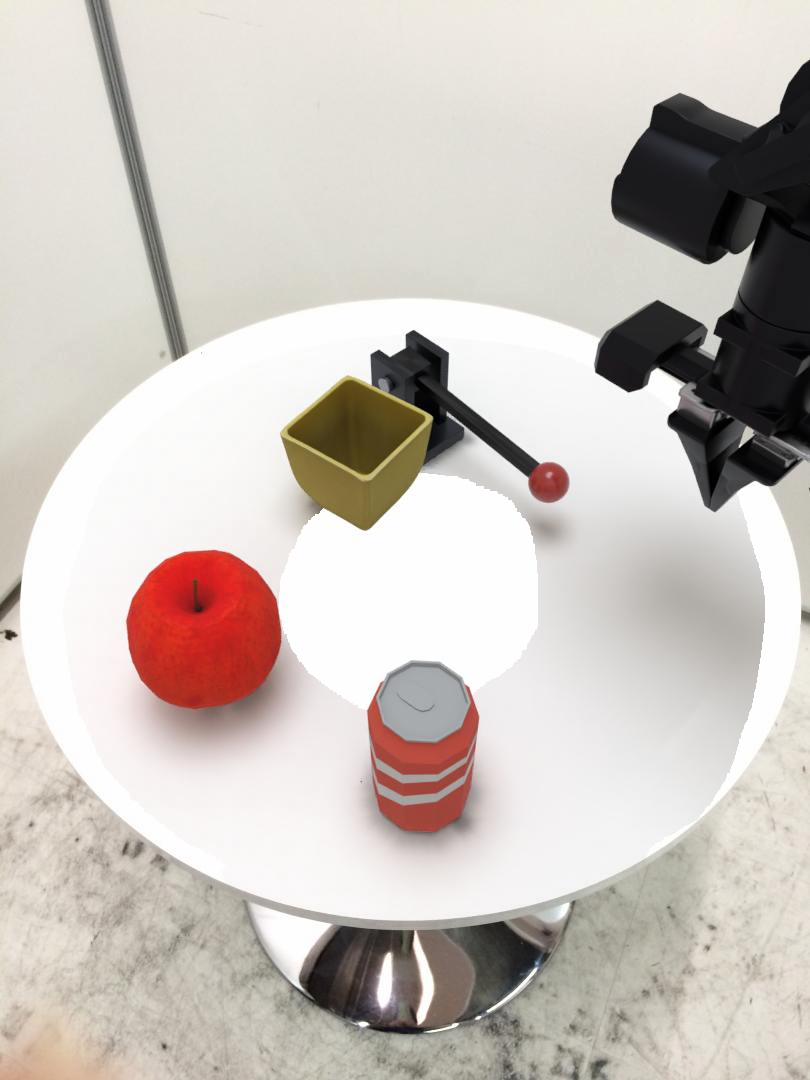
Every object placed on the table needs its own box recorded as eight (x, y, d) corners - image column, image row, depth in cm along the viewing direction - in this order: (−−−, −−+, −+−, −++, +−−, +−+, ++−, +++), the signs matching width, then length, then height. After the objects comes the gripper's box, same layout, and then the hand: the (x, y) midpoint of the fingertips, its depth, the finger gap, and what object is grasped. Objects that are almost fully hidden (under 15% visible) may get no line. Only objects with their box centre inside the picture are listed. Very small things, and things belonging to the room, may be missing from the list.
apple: (186, 771, 58) (142, 677, 49) (130, 665, 63) (82, 562, 54) (315, 699, 62) (298, 598, 52) (252, 604, 67) (227, 497, 58)
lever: (573, 497, 69) (582, 471, 66) (546, 518, 68) (554, 492, 65) (411, 367, 76) (413, 339, 74) (384, 383, 75) (385, 355, 72)
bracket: (464, 437, 79) (469, 360, 72) (416, 469, 76) (416, 392, 69) (404, 395, 82) (403, 317, 76) (356, 424, 80) (351, 346, 73)
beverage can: (413, 729, 60) (413, 633, 51) (487, 785, 57) (502, 694, 48) (354, 794, 57) (343, 704, 48) (430, 856, 54) (434, 773, 45)
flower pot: (434, 493, 74) (436, 415, 67) (372, 558, 70) (367, 481, 63) (353, 451, 78) (347, 372, 71) (289, 511, 73) (276, 432, 66)
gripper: (1054, 314, 43) (913, 522, 55) (730, 176, 52) (670, 381, 64) (948, 419, 38) (819, 621, 50) (611, 247, 47) (571, 454, 59)
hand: (714, 506), depth 56 cm, fingers closed
